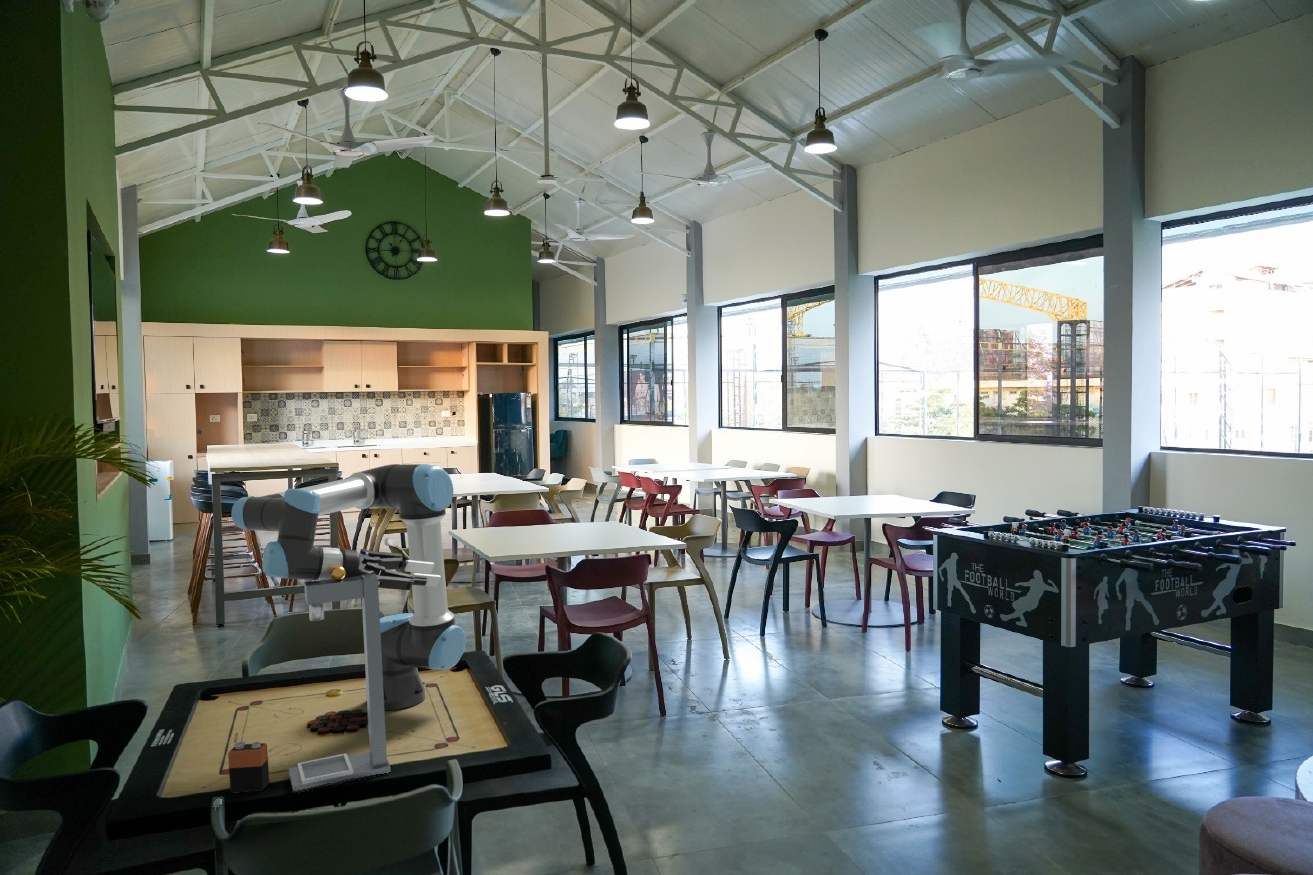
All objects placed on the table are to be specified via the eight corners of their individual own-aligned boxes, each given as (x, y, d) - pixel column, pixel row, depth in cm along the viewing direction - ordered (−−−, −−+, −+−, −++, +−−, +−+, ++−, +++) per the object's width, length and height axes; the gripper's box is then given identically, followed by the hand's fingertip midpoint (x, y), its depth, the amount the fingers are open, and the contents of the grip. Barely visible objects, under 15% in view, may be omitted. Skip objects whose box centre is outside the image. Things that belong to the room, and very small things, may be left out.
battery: (237, 785, 196) (235, 740, 196) (270, 783, 197) (267, 738, 196) (229, 794, 192) (226, 748, 191) (262, 792, 192) (260, 746, 192)
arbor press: (289, 775, 201) (277, 567, 198) (382, 756, 210) (372, 557, 207) (293, 793, 191) (281, 576, 189) (390, 772, 200) (380, 565, 198)
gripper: (325, 558, 212) (420, 567, 225) (340, 602, 198) (440, 609, 211) (334, 530, 210) (430, 541, 223) (350, 572, 196) (451, 581, 209)
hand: (435, 574), depth 217 cm, fingers open, 5 cm apart
